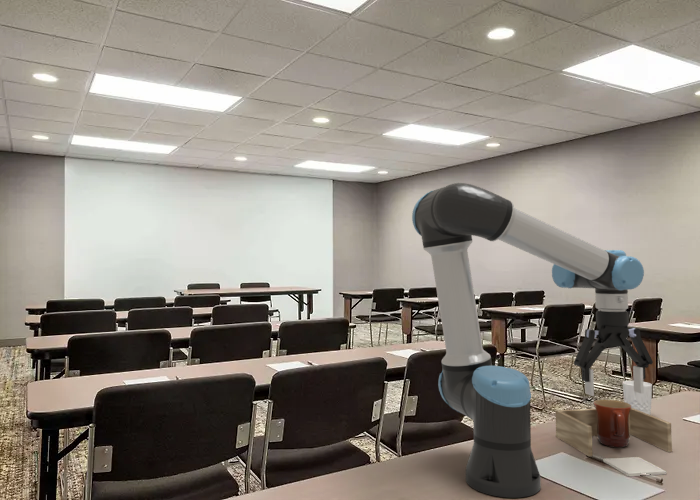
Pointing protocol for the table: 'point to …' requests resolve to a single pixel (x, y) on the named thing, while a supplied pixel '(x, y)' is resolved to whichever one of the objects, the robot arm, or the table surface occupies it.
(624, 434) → the mug
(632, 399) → the white cup
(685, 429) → the table surface
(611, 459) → the coaster
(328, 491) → the table surface
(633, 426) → the bay
